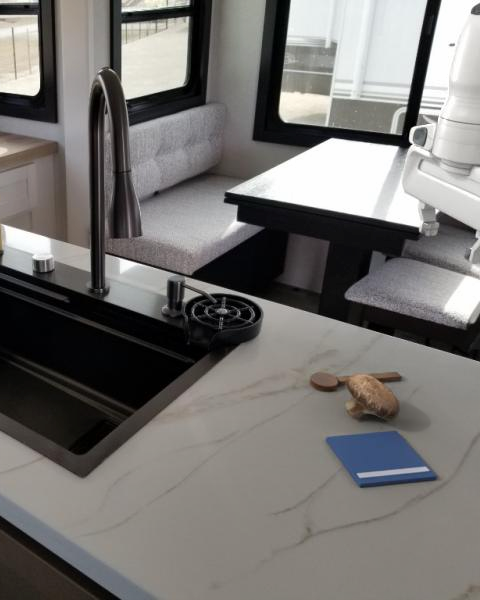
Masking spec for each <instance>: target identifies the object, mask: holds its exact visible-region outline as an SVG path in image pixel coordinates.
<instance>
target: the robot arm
mask: <svg viewBox="0 0 480 600" xmlns="http://www.w3.org/2000/svg"><path fill="white" fill-rule="evenodd" d="M408 135H409V137H408V141H409V143H410V144H411V145H410V146H409V148H408V150H407V152H406V157H405V160H404V161H405V162H404V165H403V171H402V178H401V184H402V189H403V192H404V194H407V195H409V196H411V197H412V198H414V199H416V200H418V204H417V209H418V215H419V220H420V224H419V228H418V232H419V233H420V234H421V235H423V236H426V237H436V236H437V234H438V229H440V228H439V227H440V222H438V221H437V212H436V211H437V210H438V211H439V212H441V213H443V214H445V215H448V216H449V217H451V218H453V219H455V220H457V221H459V222H461V223H463V224H465V225H466V226H468V227H470V228H472V229H474V230H475V231H476V232H475V236H474V237H475V238H476V239H477V240H476V242H475V243H474V244H473V245H472V246H471V245H470V246H469V245H468V246H466V248H465V251H464V252H465V254H464V255H463V257H464V258H463V259H464V260H466V261H468V262H469V263H471V264H473V265H478V264H480V2H478V3H477V4H475V5H473V6H472V8H470V10H469V11H468V13H467V14H466V16H465V18H464V20H463V22H462V24H461V27H460V30H459V32H458V35H457V37H456V41H455V45H454V48H453V52H452V56H451V60H450V65H449V69H448V74H447V94H446V99H445V101H444V104H443V105H442V107H441V109H440V112H439V116H438V120H437V122H435V123H434V122H433V123H429V124H423V125H415V126H413V127H411V128H410V131H409V134H408Z"/></svg>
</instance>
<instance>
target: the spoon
mask: <svg viewBox="0 0 480 600" xmlns="http://www.w3.org/2000/svg"><path fill="white" fill-rule="evenodd" d="M365 374H366V375H369V376H373V377H374V378H376V379H377V380H379V381H380V382H381V383H386V382H400V381H402V375H401V374H400V373H399V372H398V371H386V372H385V371H384V372H373V373H365ZM351 375H352V374H350V375H348V374H347V375H338V376H334V374H331V373H330V372H326V371H316V372H313V373H311V375H310V377H309V385H310V386H311V387H312V388H313V389H315V390H317V391H319V392H324V393H330V392H335V391H336V390H337V389H338V386H345V381H346V380H347V378H348V377H350V376H351Z"/></svg>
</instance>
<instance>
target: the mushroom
mask: <svg viewBox="0 0 480 600" xmlns="http://www.w3.org/2000/svg"><path fill="white" fill-rule="evenodd" d="M366 374H367V373H355V374H350V375H351V376H350V377H348V378H347V380H346V381H345V385H344V386H345V388H346V389H347V391H348V392H349V394H350V399H349V400H347V401H346V402H345V403H344V405H345V410H346V412H347V413H348V415H349V416H350V418H352V419H353V420H359V419H360V418H363V416H366V415H368V414H370V415H374V416H377V417H379V418H380V419H384V420H386V421H390V422H391V421H394V420H395V419H396V418H397V417H398V416H399V413H400V402H399V400H398V397H397V396H396V395H395V394H396V393H394V392H393V390H392V389H390V388H389V387H388V386H386V384H384V382H380V381H379V380H377V379H376V378H374V377H373V376H369V375H366Z"/></svg>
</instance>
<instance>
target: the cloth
mask: <svg viewBox="0 0 480 600" xmlns="http://www.w3.org/2000/svg"><path fill="white" fill-rule="evenodd" d="M325 442H326V443H327V444H328V446H329V447H330V449H331V450H332V452H333V453H334V454H335V456H336V457H337V458H338V459H339V461H340V463H342V465H343V466H344V468H345V469H346V470H347V472H348V473H349V475H350V476H351V478H352V479H353V480H354V482H355V483H356V484H357V486H358V487H359V488H368V487H369V488H370V487H378V486H387V485H396V484H407V483H416V482H427V481H434V480H437V477H438V476H437V474H436V473H435V472H434V471H433V470H432V469H431V468H430V466H428V465H427V463H426V462H425V461H424V460H423V459H422V458H421V457H420V455H419V454H418V453H417V452H416V451H415V450H414V449H413V447H412V446H410V444H409V443H408V442H407V441H406V440H405V439H404V438H403V437H402V435H401V434H400V433H399V432H398V430H387V431H377V432H364V433H354V434H345V435H344V434H343V435H332V436H325Z"/></svg>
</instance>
